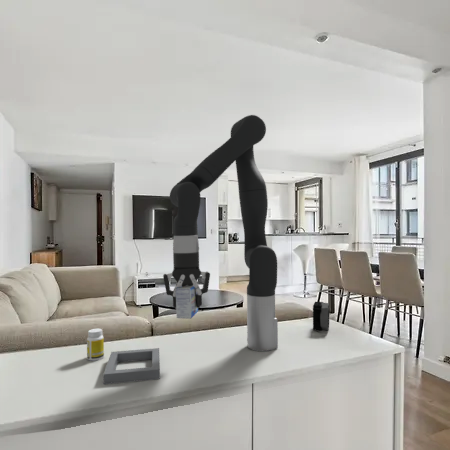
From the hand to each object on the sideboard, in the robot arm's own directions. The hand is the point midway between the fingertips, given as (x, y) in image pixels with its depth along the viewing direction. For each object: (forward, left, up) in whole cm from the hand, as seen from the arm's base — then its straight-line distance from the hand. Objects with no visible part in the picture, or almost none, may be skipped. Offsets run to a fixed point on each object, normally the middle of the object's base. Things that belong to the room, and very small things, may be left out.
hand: (187, 308), depth 101 cm
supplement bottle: (+27, -9, -16) cm, 33 cm away
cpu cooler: (-53, -20, -16) cm, 59 cm away
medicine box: (0, 0, -2) cm, 2 cm away
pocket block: (+15, +2, -16) cm, 22 cm away
